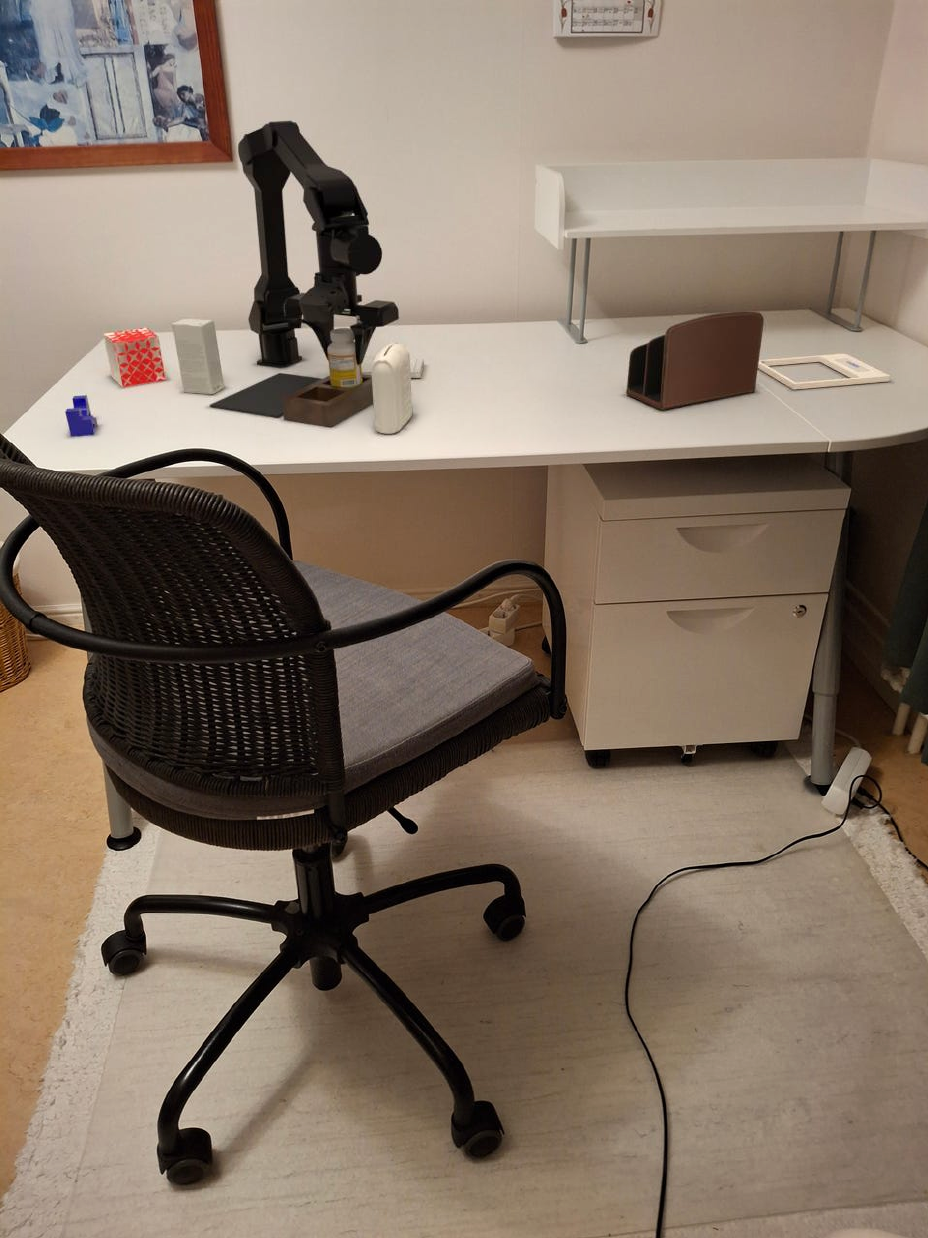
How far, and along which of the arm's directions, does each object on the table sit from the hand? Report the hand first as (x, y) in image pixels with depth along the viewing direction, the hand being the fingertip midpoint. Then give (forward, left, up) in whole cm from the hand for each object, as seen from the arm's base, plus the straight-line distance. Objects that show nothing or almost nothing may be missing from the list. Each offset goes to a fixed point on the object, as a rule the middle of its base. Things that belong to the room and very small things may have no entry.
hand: (344, 362), depth 160 cm
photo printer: (+13, -7, -7) cm, 16 cm away
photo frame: (+70, +46, -7) cm, 84 cm away
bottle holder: (0, -4, -7) cm, 8 cm away
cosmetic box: (-27, -5, -7) cm, 28 cm away
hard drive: (-2, +17, -7) cm, 19 cm away
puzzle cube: (-43, -4, -7) cm, 44 cm away
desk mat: (-13, -2, -7) cm, 15 cm away
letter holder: (+52, +26, -7) cm, 59 cm away
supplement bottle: (0, 0, -5) cm, 5 cm away
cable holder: (-32, -28, -7) cm, 43 cm away
